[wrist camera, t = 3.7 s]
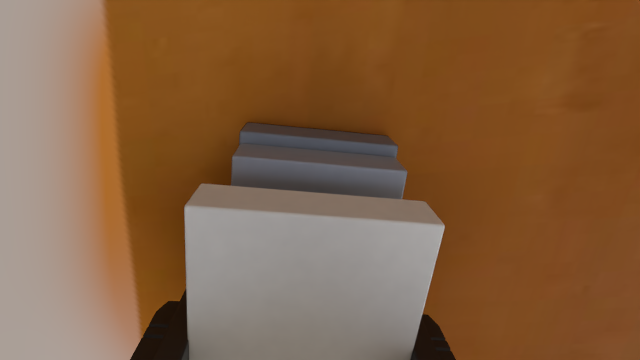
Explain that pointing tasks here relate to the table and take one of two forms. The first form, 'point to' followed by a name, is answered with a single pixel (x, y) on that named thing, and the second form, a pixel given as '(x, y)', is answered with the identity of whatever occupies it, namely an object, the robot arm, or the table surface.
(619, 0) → the table surface
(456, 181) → the table surface
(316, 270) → the white book
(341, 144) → the grey books
